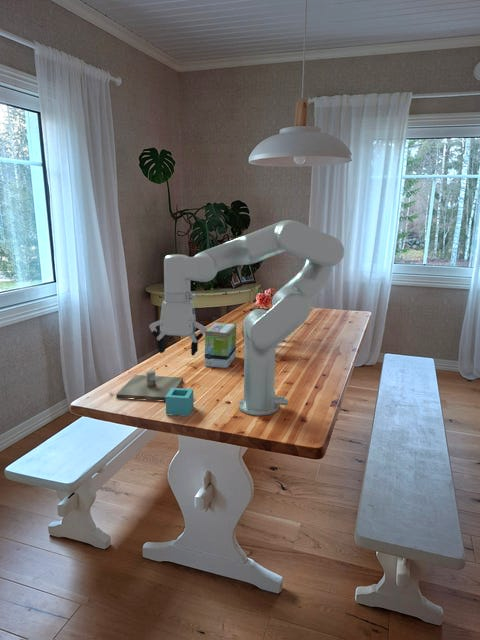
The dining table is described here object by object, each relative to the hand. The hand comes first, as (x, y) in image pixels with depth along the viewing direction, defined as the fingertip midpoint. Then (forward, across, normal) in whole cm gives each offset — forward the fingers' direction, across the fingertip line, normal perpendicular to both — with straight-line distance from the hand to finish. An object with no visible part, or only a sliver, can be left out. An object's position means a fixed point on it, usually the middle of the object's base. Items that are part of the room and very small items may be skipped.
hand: (178, 353), depth 135 cm
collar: (+19, 0, 0) cm, 19 cm away
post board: (+19, +14, -15) cm, 28 cm away
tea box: (+19, -5, -48) cm, 52 cm away
